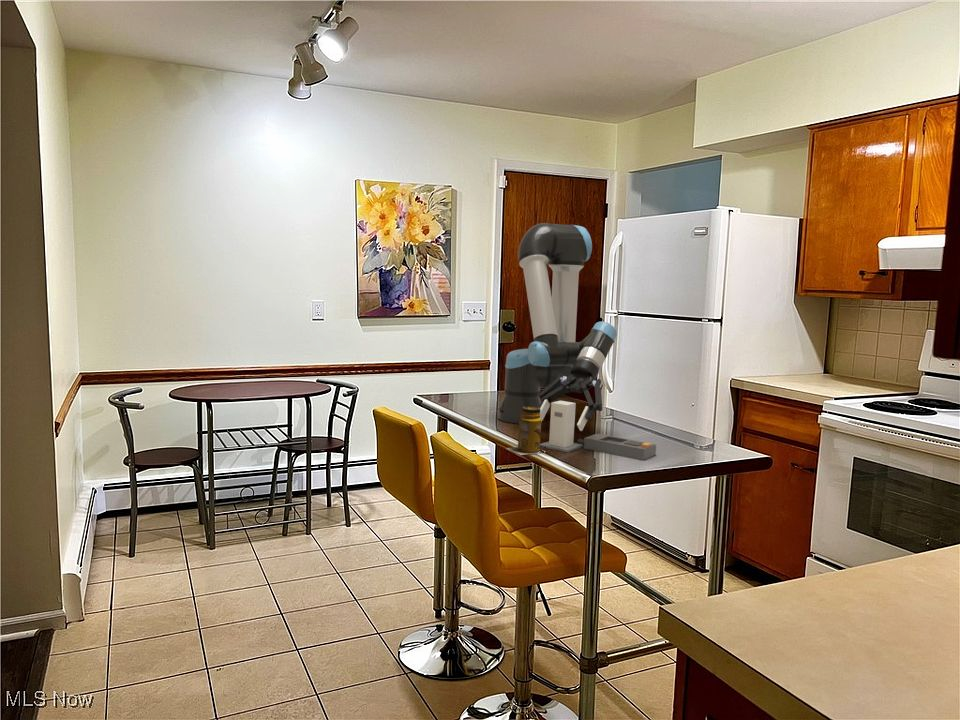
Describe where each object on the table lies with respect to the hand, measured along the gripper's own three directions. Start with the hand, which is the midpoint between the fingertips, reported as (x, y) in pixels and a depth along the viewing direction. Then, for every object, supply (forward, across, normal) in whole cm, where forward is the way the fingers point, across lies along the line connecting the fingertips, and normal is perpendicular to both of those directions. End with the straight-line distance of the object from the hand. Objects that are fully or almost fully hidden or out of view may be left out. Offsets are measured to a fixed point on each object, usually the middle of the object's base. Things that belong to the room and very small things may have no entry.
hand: (558, 424), depth 200 cm
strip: (-2, -12, -12) cm, 17 cm away
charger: (+3, 0, -6) cm, 7 cm away
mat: (+3, 0, -7) cm, 7 cm away
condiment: (+11, +5, +1) cm, 12 cm away
